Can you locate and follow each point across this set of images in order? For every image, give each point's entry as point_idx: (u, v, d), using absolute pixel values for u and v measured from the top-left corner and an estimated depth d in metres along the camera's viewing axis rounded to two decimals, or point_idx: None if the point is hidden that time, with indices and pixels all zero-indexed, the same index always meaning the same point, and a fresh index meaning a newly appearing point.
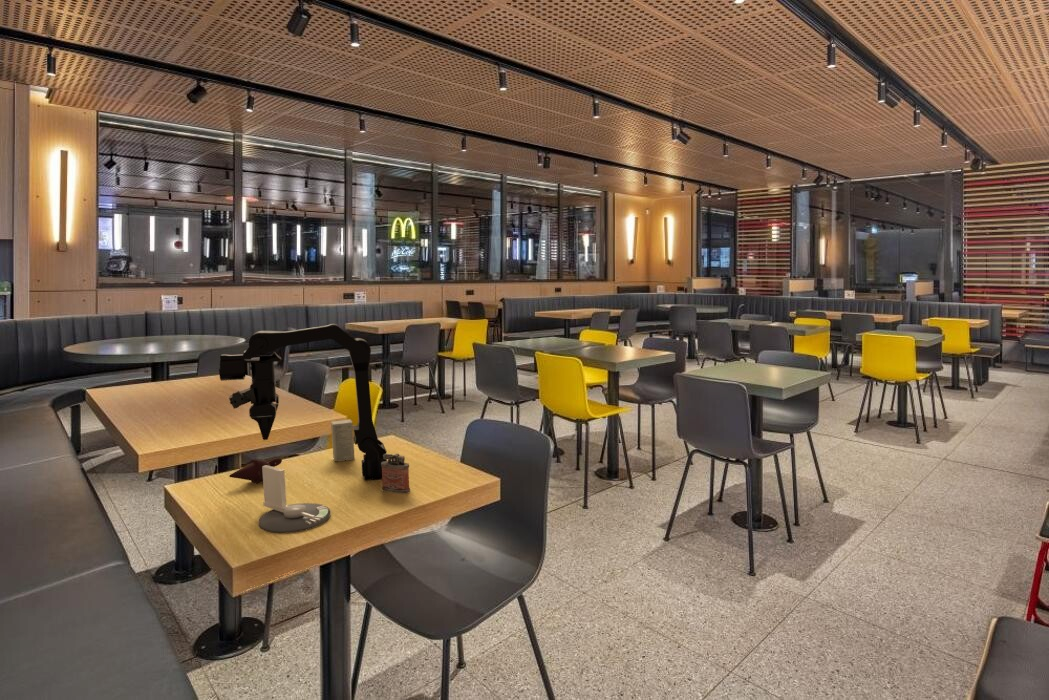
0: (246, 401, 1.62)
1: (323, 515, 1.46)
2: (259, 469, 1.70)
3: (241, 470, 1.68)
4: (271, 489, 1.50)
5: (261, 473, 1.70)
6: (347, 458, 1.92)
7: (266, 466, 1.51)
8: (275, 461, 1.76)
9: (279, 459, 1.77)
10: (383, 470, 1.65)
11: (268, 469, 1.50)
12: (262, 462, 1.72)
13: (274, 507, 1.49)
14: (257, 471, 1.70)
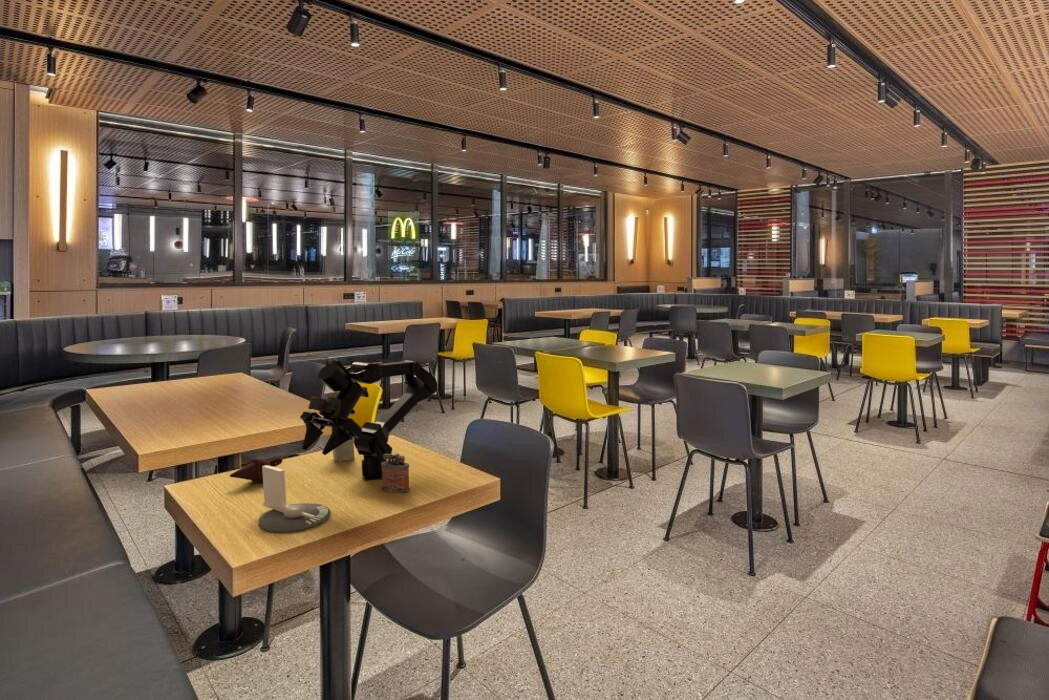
0: (330, 411, 1.59)
1: (323, 515, 1.46)
2: (259, 469, 1.70)
3: (241, 470, 1.69)
4: (271, 489, 1.50)
5: (261, 473, 1.70)
6: (347, 458, 1.92)
7: (266, 466, 1.51)
8: (275, 461, 1.76)
9: (279, 459, 1.77)
10: (383, 470, 1.65)
11: (268, 469, 1.50)
12: (262, 462, 1.72)
13: (274, 507, 1.49)
14: (257, 471, 1.70)
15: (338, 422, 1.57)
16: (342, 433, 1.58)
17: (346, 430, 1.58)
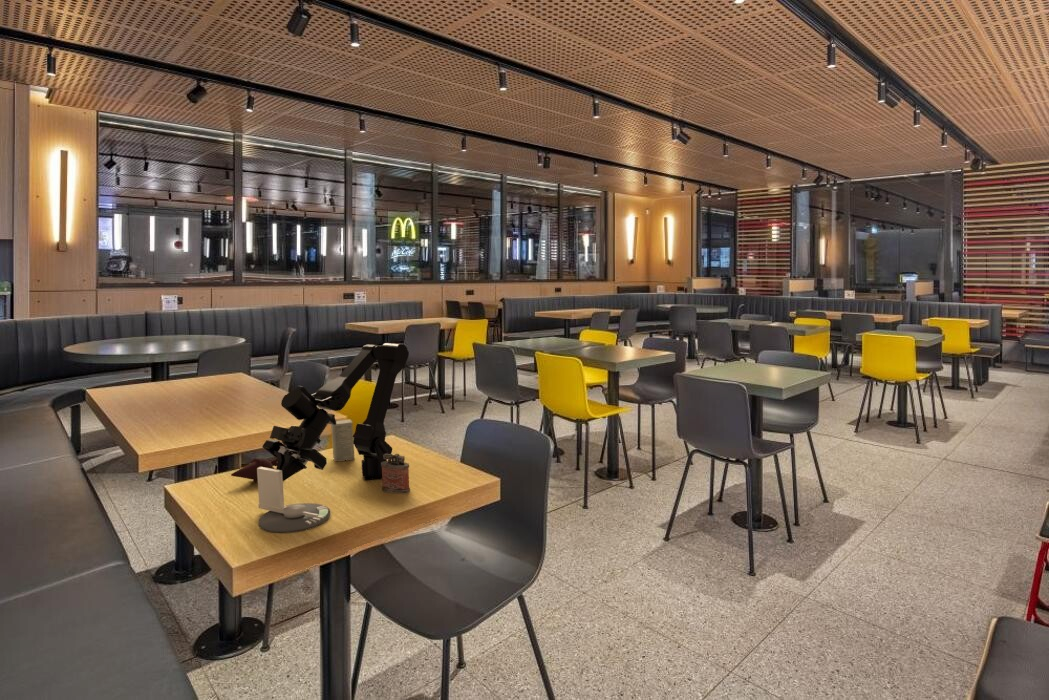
0: (293, 440, 1.50)
1: (323, 515, 1.46)
2: None
3: (243, 469, 1.69)
4: (267, 490, 1.49)
5: None
6: (347, 458, 1.92)
7: (261, 468, 1.50)
8: (277, 460, 1.76)
9: None
10: (383, 470, 1.65)
11: (264, 470, 1.48)
12: (264, 461, 1.73)
13: (272, 509, 1.48)
14: None
15: (301, 453, 1.48)
16: (295, 462, 1.51)
17: (299, 459, 1.51)
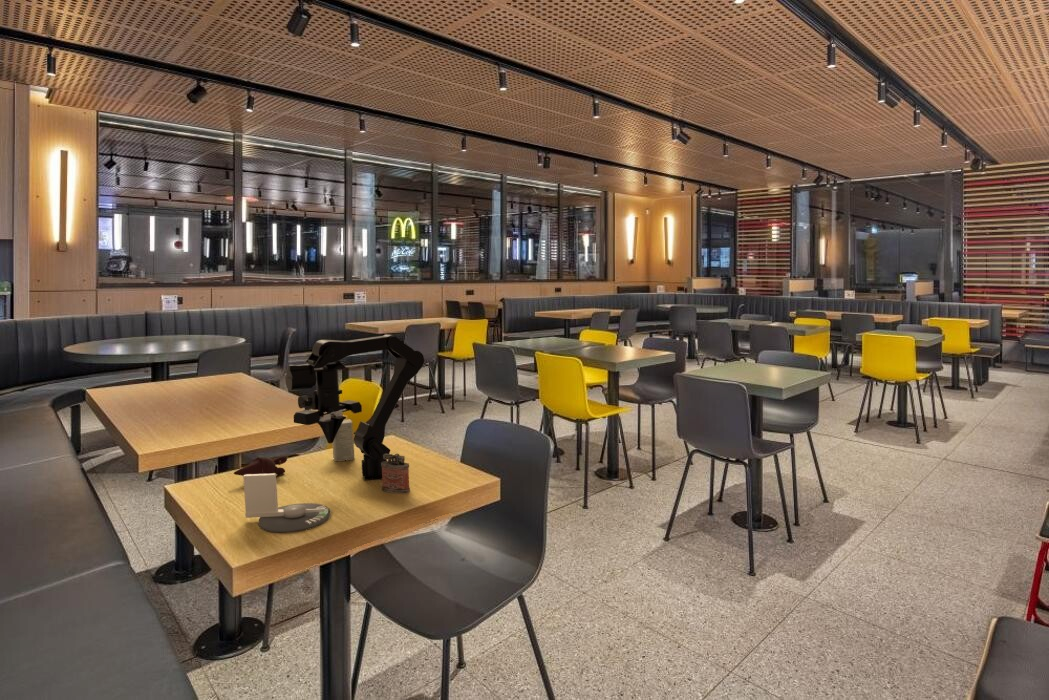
0: (311, 406, 1.67)
1: (323, 515, 1.46)
2: (263, 467, 1.72)
3: (245, 468, 1.71)
4: (258, 497, 1.45)
5: (265, 471, 1.72)
6: (347, 458, 1.92)
7: (248, 475, 1.44)
8: (280, 459, 1.77)
9: (284, 457, 1.78)
10: (383, 470, 1.65)
11: (254, 477, 1.44)
12: (266, 460, 1.74)
13: (265, 514, 1.45)
14: (261, 469, 1.72)
15: None
16: None
17: None
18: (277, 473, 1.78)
